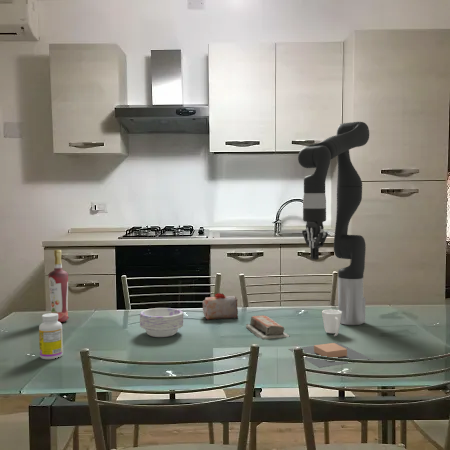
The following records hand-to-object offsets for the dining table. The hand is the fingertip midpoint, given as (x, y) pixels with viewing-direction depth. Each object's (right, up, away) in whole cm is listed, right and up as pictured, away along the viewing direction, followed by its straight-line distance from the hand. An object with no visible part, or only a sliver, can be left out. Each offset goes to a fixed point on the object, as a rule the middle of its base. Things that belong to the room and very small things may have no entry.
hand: (314, 259), depth 165 cm
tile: (0, -26, -13) cm, 29 cm away
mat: (+1, -28, -16) cm, 32 cm away
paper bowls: (-52, -27, +10) cm, 60 cm away
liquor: (-94, -27, +28) cm, 102 cm away
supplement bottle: (-82, -29, -14) cm, 88 cm away
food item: (-32, -26, +33) cm, 52 cm away
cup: (+7, -27, +5) cm, 28 cm away
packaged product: (-15, -27, +10) cm, 33 cm away
